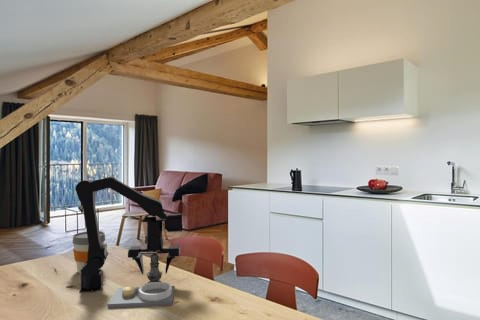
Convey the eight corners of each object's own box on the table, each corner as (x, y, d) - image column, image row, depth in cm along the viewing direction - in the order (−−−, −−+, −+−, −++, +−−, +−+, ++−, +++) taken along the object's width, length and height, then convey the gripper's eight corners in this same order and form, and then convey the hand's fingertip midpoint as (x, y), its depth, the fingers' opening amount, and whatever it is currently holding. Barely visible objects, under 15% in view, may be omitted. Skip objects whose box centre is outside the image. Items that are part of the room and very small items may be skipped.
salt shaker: (158, 286, 125) (158, 254, 125) (143, 285, 126) (143, 253, 126) (164, 280, 131) (165, 249, 131) (150, 279, 132) (150, 248, 132)
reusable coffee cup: (111, 268, 144) (111, 233, 144) (84, 277, 133) (84, 239, 133) (93, 263, 151) (93, 229, 150) (66, 271, 140) (66, 235, 140)
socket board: (107, 307, 108) (107, 297, 108) (117, 291, 121) (117, 282, 121) (171, 305, 110) (171, 295, 110) (174, 289, 123) (174, 280, 123)
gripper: (180, 227, 137) (180, 265, 138) (133, 228, 135) (133, 267, 135) (179, 234, 126) (179, 275, 126) (127, 235, 124) (127, 277, 124)
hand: (154, 273), depth 128 cm, fingers closed on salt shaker, 8 cm apart
